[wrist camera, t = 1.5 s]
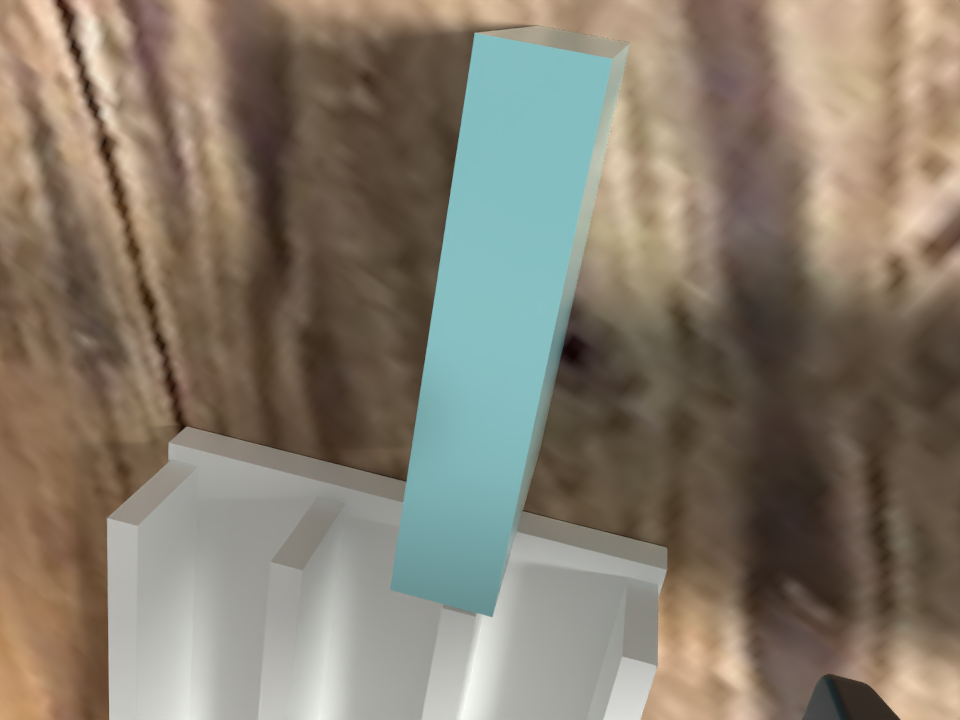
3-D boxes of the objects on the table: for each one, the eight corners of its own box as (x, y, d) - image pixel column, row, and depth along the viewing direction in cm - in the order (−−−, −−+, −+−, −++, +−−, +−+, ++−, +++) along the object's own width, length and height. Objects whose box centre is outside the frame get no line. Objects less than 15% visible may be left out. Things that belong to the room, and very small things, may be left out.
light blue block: (630, 42, 19) (612, 58, 12) (541, 445, 22) (492, 617, 16) (539, 25, 19) (475, 32, 12) (467, 427, 23) (390, 589, 16)
